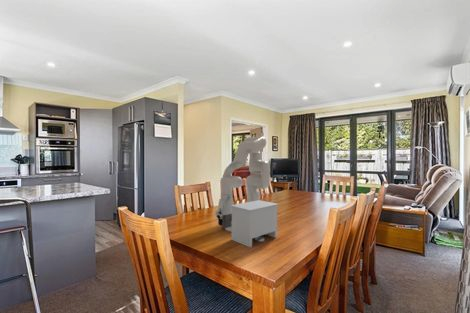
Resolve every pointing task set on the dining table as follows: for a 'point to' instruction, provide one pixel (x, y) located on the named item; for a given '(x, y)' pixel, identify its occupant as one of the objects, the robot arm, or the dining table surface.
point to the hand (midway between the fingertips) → (226, 223)
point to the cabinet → (253, 221)
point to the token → (260, 239)
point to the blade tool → (227, 222)
